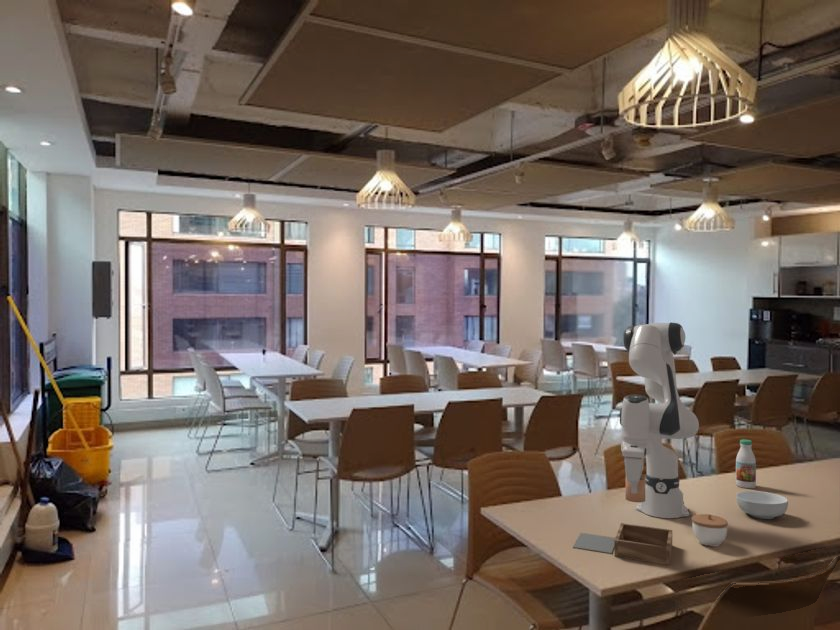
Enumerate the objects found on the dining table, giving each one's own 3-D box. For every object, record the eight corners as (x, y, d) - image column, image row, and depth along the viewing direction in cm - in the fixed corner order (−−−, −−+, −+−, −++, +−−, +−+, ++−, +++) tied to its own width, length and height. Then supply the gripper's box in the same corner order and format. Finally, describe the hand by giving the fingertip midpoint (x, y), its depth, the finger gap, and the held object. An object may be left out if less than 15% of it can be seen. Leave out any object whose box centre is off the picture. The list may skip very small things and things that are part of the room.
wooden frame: (620, 537, 209) (620, 523, 209) (672, 545, 203) (672, 530, 203) (614, 556, 194) (614, 540, 194) (669, 564, 187) (669, 548, 187)
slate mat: (580, 533, 213) (580, 532, 213) (617, 538, 208) (617, 538, 208) (572, 547, 201) (572, 546, 201) (611, 553, 196) (611, 552, 196)
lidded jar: (717, 536, 211) (717, 509, 210) (734, 549, 200) (734, 519, 200) (685, 537, 210) (685, 509, 210) (701, 549, 199) (701, 520, 199)
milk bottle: (731, 484, 274) (732, 438, 274) (748, 483, 275) (748, 438, 275) (742, 489, 266) (743, 442, 266) (759, 488, 267) (760, 441, 267)
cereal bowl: (763, 507, 242) (763, 489, 242) (799, 521, 226) (799, 501, 226) (726, 510, 238) (726, 492, 238) (759, 525, 222) (759, 505, 222)
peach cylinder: (626, 495, 203) (626, 474, 203) (645, 498, 201) (646, 476, 201) (624, 501, 198) (624, 478, 198) (644, 503, 195) (644, 480, 195)
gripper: (628, 439, 210) (628, 480, 210) (621, 452, 191) (621, 497, 191) (648, 441, 207) (648, 482, 207) (643, 454, 189) (643, 499, 189)
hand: (635, 489), depth 199 cm, fingers closed on peach cylinder, 6 cm apart
